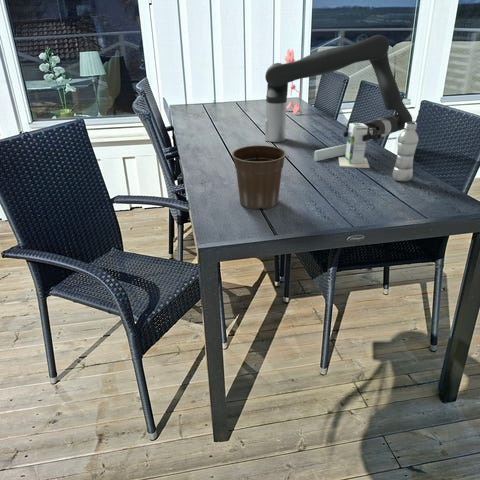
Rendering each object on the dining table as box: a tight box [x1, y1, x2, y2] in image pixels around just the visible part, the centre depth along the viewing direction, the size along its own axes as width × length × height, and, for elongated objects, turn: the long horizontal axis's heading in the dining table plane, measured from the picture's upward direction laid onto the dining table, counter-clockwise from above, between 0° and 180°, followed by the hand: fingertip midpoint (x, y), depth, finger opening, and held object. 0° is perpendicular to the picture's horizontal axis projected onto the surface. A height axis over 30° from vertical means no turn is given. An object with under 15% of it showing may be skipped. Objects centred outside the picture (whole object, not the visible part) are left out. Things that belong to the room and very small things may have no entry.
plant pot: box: [231, 144, 287, 210], centre depth 131 cm, size 16×16×16 cm
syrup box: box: [344, 122, 368, 164], centre depth 164 cm, size 6×6×14 cm
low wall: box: [313, 143, 347, 162], centre depth 175 cm, size 22×1×4 cm, turn 122°
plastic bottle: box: [392, 121, 419, 182], centre depth 145 cm, size 6×7×20 cm
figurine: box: [284, 48, 302, 118], centre depth 242 cm, size 15×26×35 cm, turn 16°
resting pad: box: [337, 156, 370, 169], centre depth 168 cm, size 11×11×1 cm
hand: (353, 136), depth 161 cm, fingers open, 8 cm apart
